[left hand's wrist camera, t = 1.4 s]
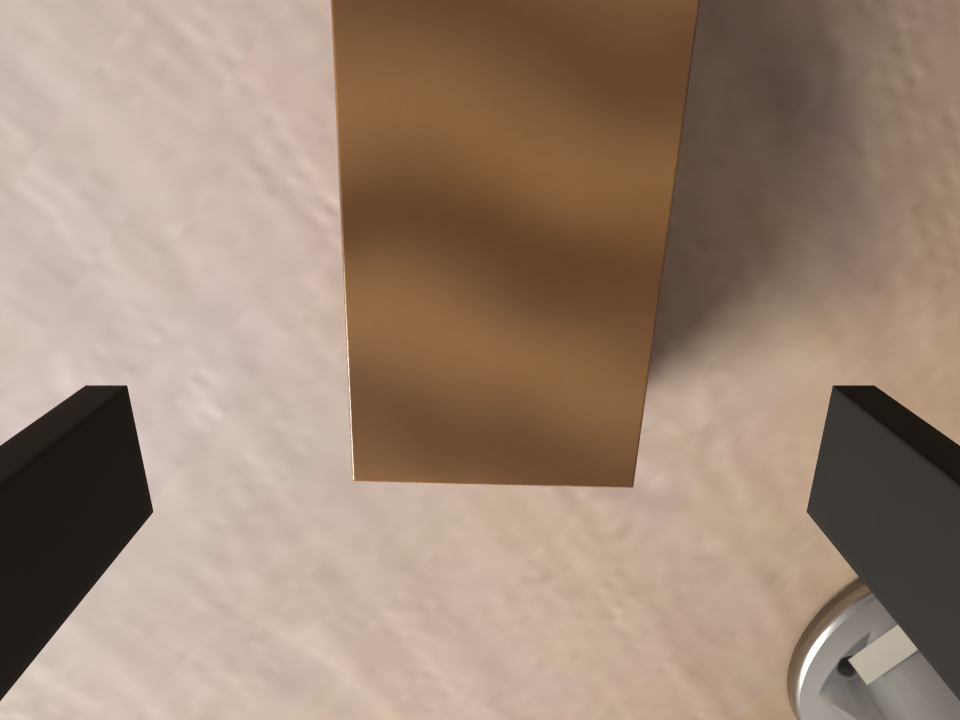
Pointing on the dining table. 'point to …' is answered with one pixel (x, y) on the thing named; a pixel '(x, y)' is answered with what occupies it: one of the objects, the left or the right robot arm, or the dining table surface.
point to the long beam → (505, 231)
